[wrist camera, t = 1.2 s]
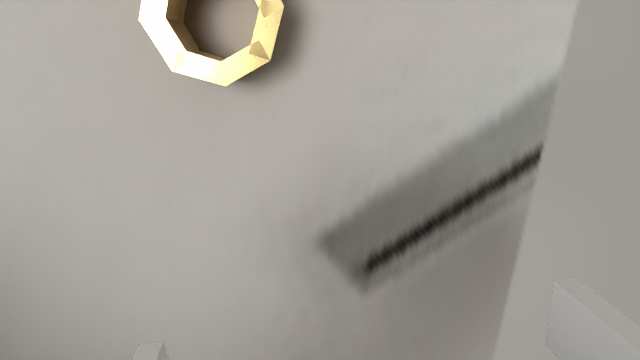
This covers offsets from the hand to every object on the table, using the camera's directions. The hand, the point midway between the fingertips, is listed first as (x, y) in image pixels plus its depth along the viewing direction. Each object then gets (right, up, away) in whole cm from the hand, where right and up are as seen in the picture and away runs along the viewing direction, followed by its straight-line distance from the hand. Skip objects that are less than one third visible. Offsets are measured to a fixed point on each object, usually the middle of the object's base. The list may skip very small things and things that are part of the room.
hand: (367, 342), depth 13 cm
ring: (-9, +17, +15) cm, 24 cm away
